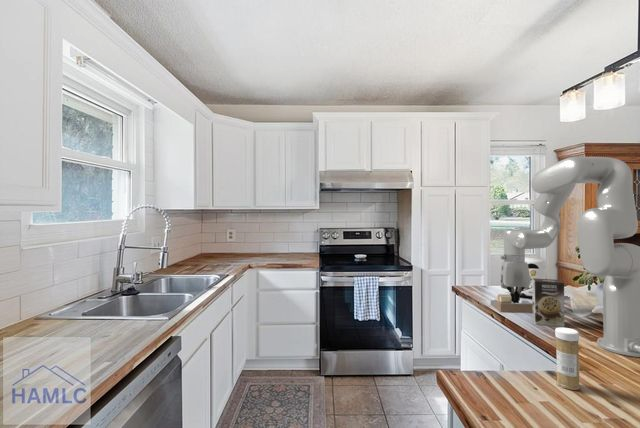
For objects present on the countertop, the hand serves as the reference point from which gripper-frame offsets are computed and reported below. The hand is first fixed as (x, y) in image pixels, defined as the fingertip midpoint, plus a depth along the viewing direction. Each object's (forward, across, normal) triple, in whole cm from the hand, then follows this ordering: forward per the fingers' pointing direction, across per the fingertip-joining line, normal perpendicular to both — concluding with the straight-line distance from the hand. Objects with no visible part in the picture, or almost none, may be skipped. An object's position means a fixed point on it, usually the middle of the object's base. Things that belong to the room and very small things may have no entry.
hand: (515, 302), depth 140 cm
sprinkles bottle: (+3, -15, -63) cm, 65 cm away
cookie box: (+3, +4, -17) cm, 18 cm away
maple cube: (+1, -4, 0) cm, 4 cm away
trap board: (+3, 0, +2) cm, 4 cm away
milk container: (+4, +16, +25) cm, 30 cm away
